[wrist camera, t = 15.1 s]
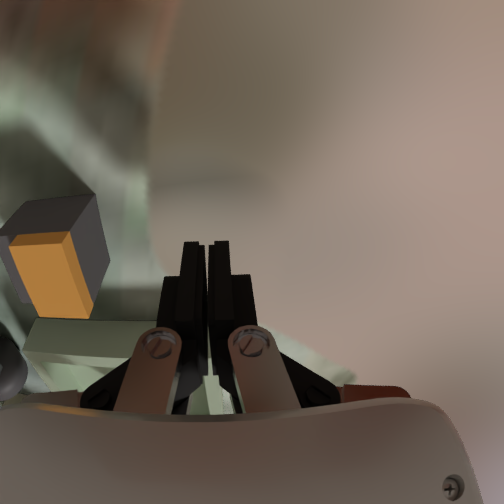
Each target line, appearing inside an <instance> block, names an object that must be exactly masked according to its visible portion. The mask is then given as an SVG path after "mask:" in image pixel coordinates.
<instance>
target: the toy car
mask: <svg viewBox="0 0 504 504" xmlns="http://www.w3.org/2000/svg"><path fill="white" fill-rule="evenodd" d="M27 375H28V367H27V364H26V361H25V360H24V358H23V357H22V355H21V354H20V352H19V351H18V349H17V348H16V346H15V345H14V343H13V342H12V341H11V340H9V339H7V338H4V337H0V401H5V400H8V399H10V398H12V397H14V396H15V395H16V394H17V393H19V391H20V390H21V389H22V388H23V386H24V384H25V382H26V379H27Z"/></svg>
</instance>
